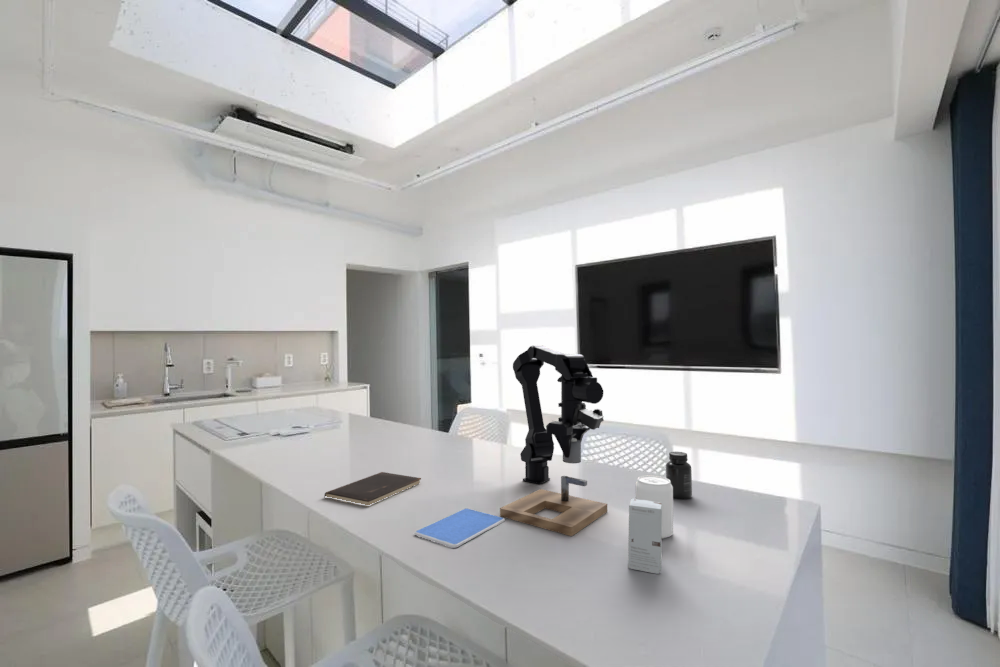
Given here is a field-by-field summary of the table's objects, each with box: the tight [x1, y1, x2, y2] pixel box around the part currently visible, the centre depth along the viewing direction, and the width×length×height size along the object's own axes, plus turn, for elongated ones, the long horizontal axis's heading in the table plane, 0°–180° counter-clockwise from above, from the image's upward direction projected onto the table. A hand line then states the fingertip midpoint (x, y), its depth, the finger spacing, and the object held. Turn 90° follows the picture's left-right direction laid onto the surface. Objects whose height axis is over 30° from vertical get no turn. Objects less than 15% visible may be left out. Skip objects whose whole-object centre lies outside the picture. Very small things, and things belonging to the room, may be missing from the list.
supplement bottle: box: [665, 451, 693, 500], centre depth 131 cm, size 7×7×12 cm
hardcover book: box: [324, 471, 422, 505], centre depth 135 cm, size 16×23×2 cm
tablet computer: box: [413, 508, 506, 549], centre depth 108 cm, size 19×13×1 cm, turn 146°
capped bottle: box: [562, 438, 582, 464], centre depth 128 cm, size 5×5×6 cm
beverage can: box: [634, 474, 674, 539], centre depth 105 cm, size 8×8×12 cm
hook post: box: [560, 475, 588, 501], centre depth 119 cm, size 7×2×6 cm, turn 53°
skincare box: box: [627, 498, 663, 575], centre depth 89 cm, size 6×4×12 cm
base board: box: [499, 488, 608, 537], centre depth 116 cm, size 20×19×2 cm
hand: (571, 455), depth 128 cm, fingers closed on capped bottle, 5 cm apart
